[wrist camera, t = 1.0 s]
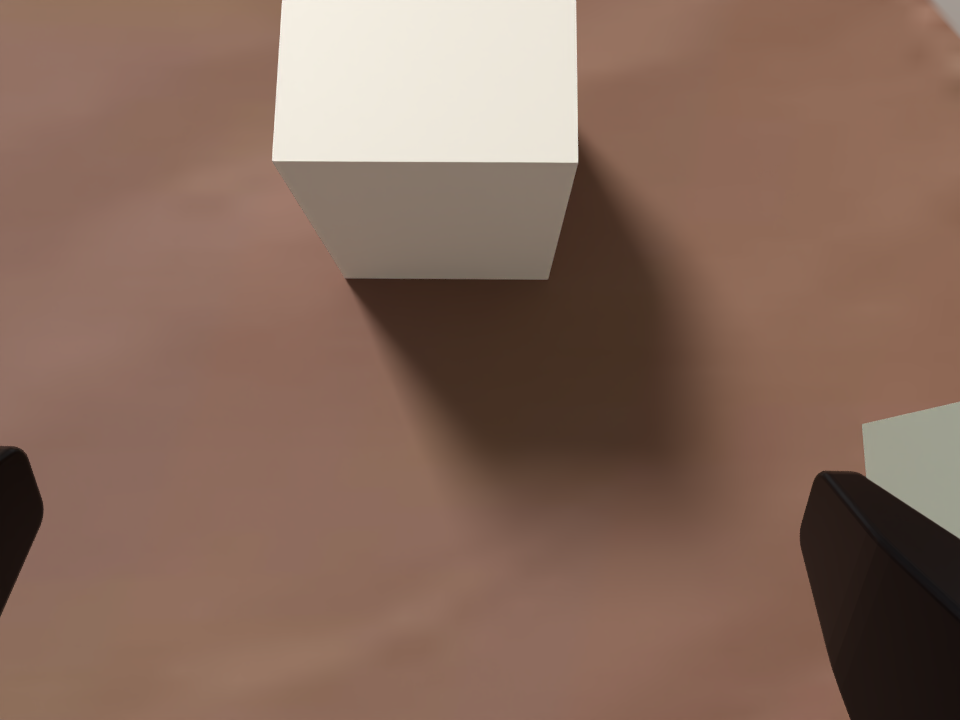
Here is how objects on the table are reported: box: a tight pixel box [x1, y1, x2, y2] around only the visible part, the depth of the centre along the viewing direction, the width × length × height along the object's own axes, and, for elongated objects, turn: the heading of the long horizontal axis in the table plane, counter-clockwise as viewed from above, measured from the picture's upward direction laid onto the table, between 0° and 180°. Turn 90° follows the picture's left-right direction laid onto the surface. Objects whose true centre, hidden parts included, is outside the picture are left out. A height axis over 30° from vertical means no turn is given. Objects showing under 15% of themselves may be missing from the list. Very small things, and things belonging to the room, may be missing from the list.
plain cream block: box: [272, 0, 578, 280], centre depth 20 cm, size 6×6×8 cm
